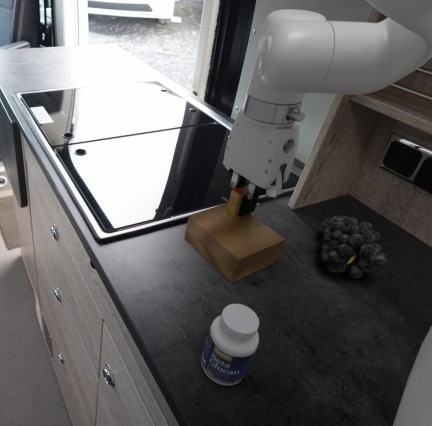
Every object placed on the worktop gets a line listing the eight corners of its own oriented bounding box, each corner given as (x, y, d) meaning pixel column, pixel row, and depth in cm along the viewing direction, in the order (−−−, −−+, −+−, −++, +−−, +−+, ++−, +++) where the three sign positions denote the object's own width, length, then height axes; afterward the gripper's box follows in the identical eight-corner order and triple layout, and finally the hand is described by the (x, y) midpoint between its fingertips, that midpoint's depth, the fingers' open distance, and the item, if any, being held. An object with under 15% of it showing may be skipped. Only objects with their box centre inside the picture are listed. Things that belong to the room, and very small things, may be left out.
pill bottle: (199, 381, 45) (214, 332, 39) (201, 343, 49) (215, 294, 43) (245, 392, 44) (268, 344, 38) (243, 352, 48) (264, 303, 42)
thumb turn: (247, 204, 66) (253, 181, 64) (254, 209, 65) (261, 186, 62) (225, 211, 64) (231, 188, 62) (233, 217, 63) (239, 194, 60)
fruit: (337, 185, 65) (354, 236, 53) (381, 206, 64) (408, 263, 53) (304, 219, 70) (313, 273, 58) (344, 240, 70) (361, 298, 58)
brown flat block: (291, 255, 63) (301, 232, 60) (231, 282, 58) (239, 258, 55) (234, 212, 73) (240, 190, 70) (178, 232, 67) (182, 209, 64)
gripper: (335, 123, 50) (291, 229, 61) (249, 87, 61) (225, 183, 72) (297, 134, 47) (258, 243, 58) (214, 94, 58) (195, 192, 69)
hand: (240, 209), depth 65 cm, fingers closed, pressing on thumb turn
